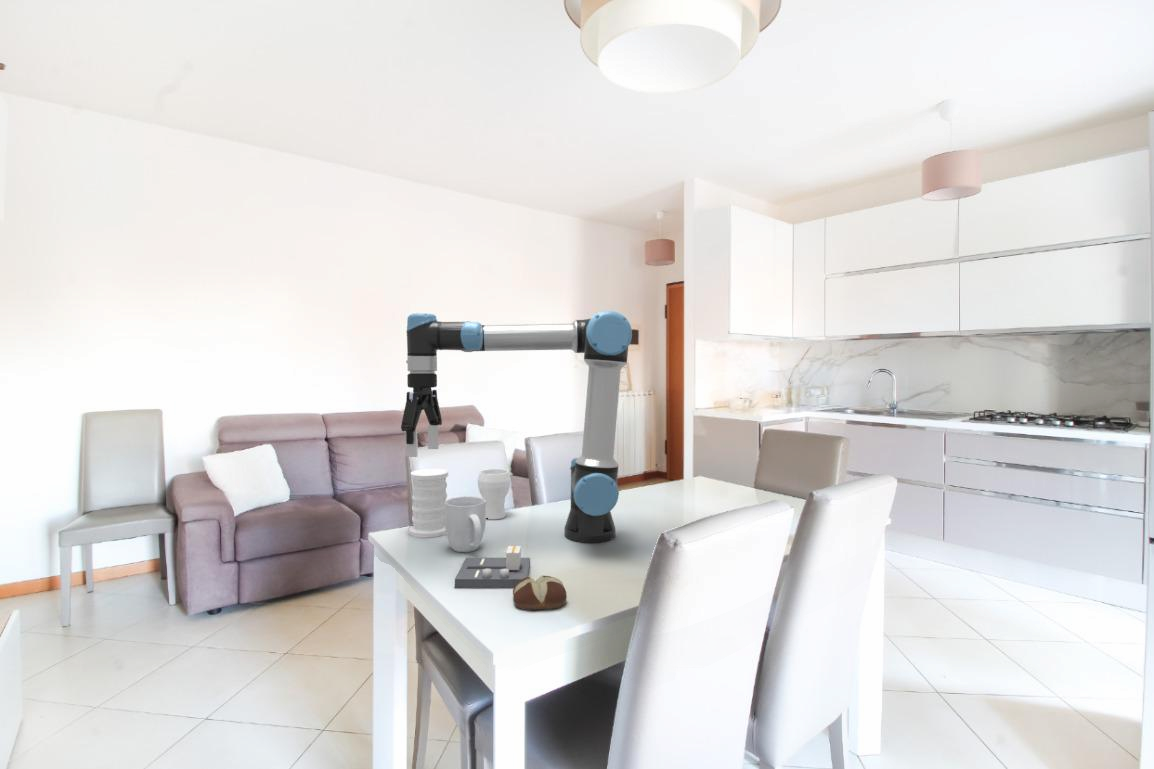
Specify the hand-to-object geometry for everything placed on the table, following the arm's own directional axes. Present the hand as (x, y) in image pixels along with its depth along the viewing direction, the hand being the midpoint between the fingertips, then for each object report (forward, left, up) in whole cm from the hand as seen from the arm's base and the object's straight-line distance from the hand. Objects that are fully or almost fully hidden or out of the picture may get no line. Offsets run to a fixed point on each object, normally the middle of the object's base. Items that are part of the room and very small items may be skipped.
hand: (423, 452), depth 146 cm
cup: (-14, -35, -27) cm, 47 cm away
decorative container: (+3, -18, -27) cm, 33 cm away
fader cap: (-26, +17, -24) cm, 39 cm away
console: (-21, +17, -27) cm, 38 cm away
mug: (-11, -2, -27) cm, 29 cm away
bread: (-33, +30, -27) cm, 52 cm away
